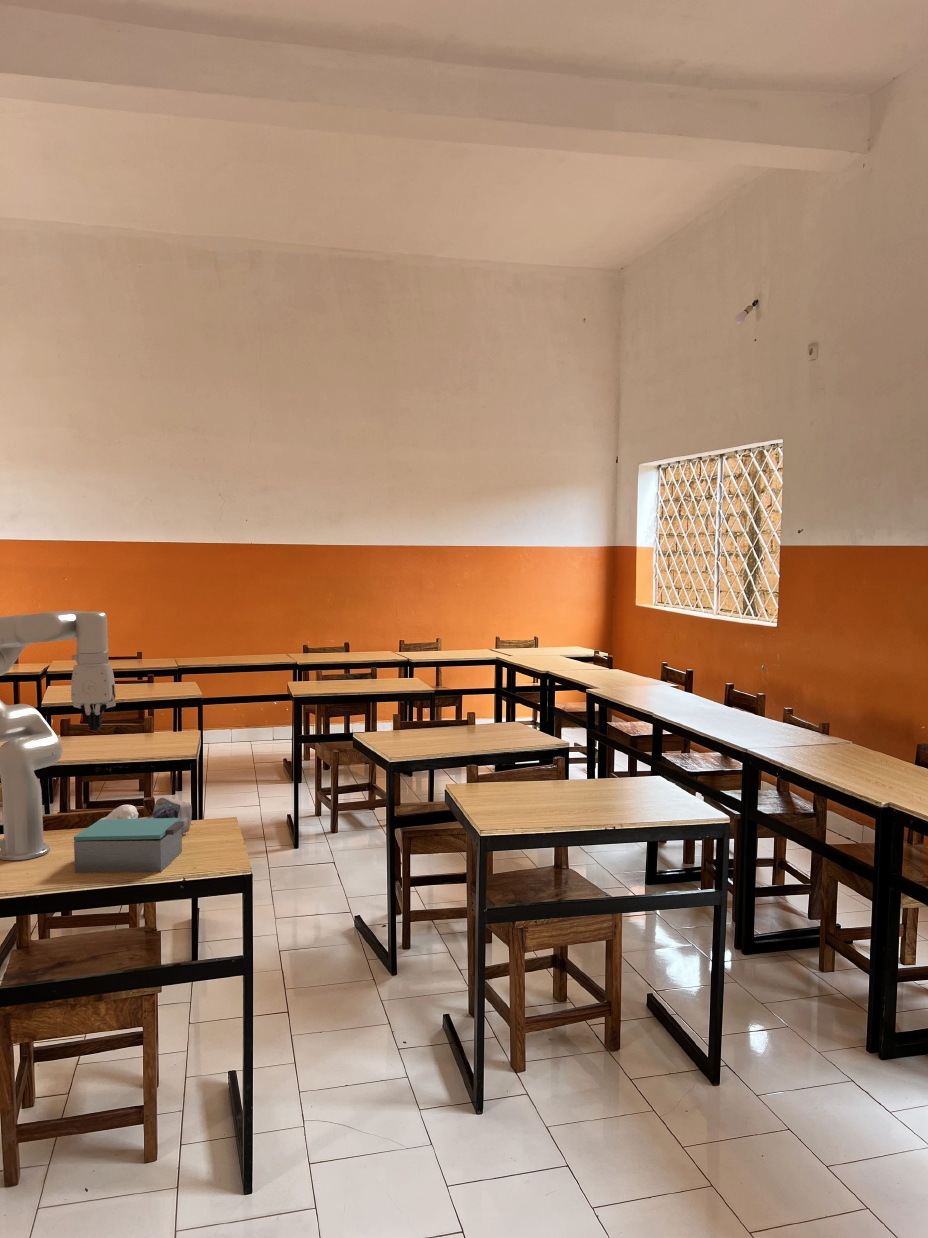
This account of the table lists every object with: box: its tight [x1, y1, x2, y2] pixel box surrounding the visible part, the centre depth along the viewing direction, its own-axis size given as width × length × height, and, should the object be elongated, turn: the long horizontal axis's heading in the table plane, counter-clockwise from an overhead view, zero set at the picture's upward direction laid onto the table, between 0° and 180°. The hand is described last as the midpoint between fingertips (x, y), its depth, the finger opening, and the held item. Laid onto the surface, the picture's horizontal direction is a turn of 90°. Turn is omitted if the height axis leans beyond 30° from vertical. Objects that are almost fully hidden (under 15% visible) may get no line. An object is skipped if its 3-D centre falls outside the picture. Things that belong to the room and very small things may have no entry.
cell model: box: [136, 796, 193, 834], centre depth 256 cm, size 13×11×20 cm
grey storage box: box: [73, 829, 183, 874], centre depth 236 cm, size 22×16×8 cm
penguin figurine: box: [98, 804, 139, 821], centre depth 263 cm, size 6×8×12 cm
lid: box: [73, 818, 184, 842], centre depth 236 cm, size 24×16×1 cm, turn 89°
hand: (95, 729), depth 235 cm, fingers closed
